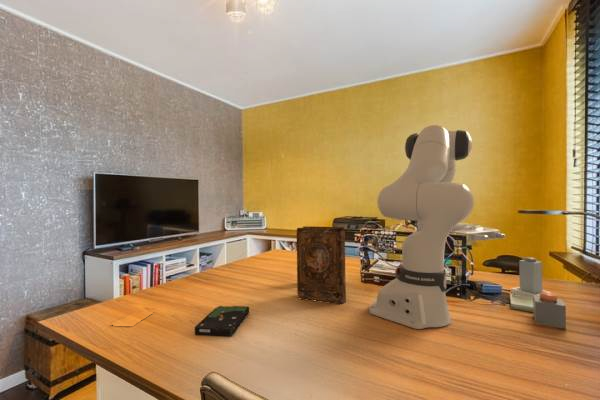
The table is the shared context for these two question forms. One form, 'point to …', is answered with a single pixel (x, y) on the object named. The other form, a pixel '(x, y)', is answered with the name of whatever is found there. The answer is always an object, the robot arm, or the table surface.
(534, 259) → the cartridge
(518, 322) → the table surface
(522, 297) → the tray
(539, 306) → the button post
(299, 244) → the book
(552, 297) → the button
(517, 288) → the socket collar
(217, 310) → the disk drive
